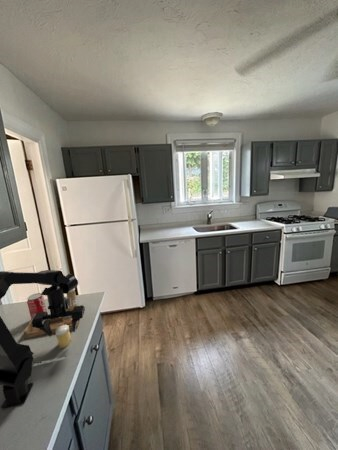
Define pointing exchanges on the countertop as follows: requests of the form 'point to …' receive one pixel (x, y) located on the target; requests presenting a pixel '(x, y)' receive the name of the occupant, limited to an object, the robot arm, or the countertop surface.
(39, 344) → the countertop surface
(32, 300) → the soda can
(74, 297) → the sprinkles bottle
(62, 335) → the mustard jar
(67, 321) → the spice jar
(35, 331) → the wooden tray
